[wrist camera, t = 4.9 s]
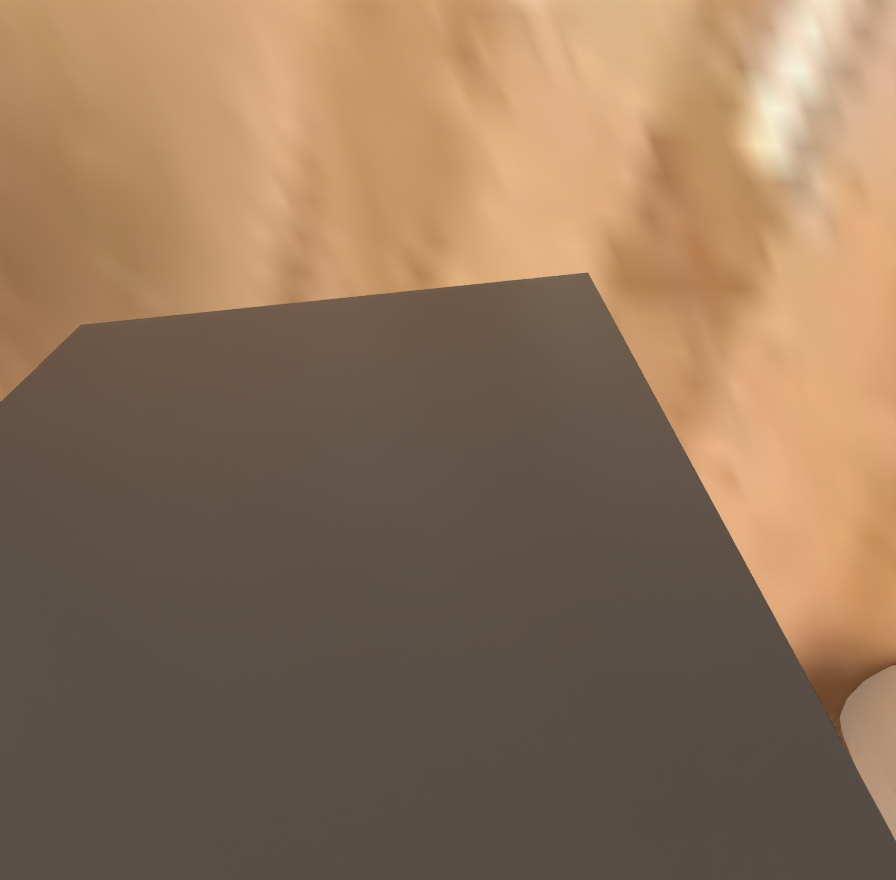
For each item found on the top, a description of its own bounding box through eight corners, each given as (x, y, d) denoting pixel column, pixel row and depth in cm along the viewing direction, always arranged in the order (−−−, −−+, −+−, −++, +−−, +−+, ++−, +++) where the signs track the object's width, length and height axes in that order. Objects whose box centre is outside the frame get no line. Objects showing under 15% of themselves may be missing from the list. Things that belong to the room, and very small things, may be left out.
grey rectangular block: (80, 325, 11) (-761, 1135, 3) (588, 273, 11) (991, 1016, 3) (254, 833, 16) (94, 1600, 8) (597, 805, 16) (750, 1570, 8)
